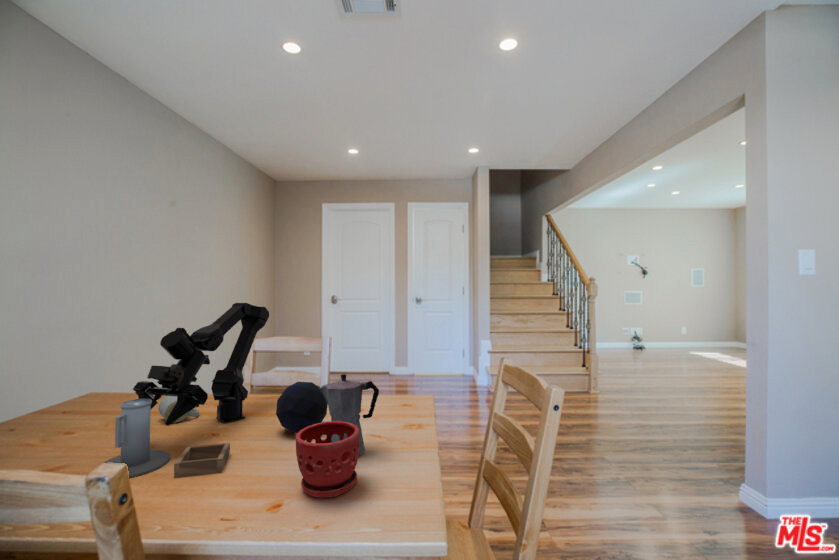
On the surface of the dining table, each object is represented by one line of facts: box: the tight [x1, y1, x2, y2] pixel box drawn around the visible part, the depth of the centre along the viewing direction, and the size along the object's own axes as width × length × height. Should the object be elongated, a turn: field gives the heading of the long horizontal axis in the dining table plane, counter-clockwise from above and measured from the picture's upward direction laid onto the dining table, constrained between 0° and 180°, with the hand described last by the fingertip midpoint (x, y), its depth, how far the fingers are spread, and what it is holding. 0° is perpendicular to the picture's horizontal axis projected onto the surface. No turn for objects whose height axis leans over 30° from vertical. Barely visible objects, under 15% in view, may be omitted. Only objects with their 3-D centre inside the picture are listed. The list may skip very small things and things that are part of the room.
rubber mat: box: [103, 449, 171, 479], centre depth 93 cm, size 14×14×1 cm
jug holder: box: [173, 442, 231, 478], centre depth 93 cm, size 10×10×3 cm
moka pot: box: [319, 373, 380, 456], centre depth 101 cm, size 10×15×20 cm, turn 95°
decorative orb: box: [275, 381, 328, 434], centre depth 116 cm, size 14×15×15 cm
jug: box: [114, 398, 152, 467], centre depth 92 cm, size 8×6×14 cm
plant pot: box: [295, 420, 360, 499], centre depth 83 cm, size 13×13×12 cm
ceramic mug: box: [158, 396, 200, 424], centre depth 125 cm, size 11×8×8 cm
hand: (150, 423), depth 97 cm, fingers open, 9 cm apart
